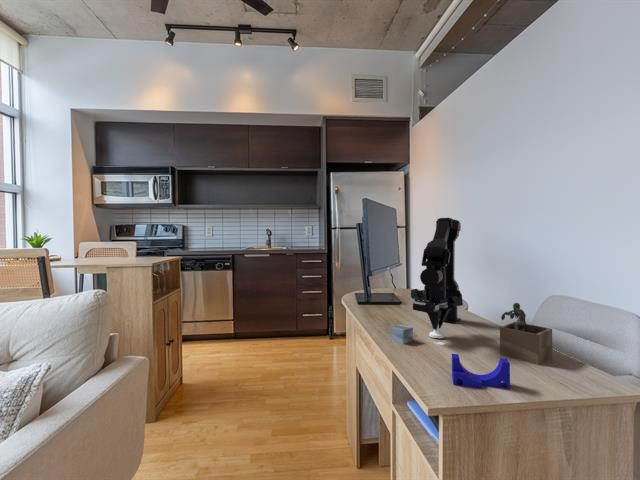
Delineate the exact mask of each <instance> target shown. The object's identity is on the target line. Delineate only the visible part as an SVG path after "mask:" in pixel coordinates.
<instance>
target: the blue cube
mask: <svg viewBox="0 0 640 480" xmlns="http://www.w3.org/2000/svg"><path fill="white" fill-rule="evenodd" d="M413 328H414V327H412V326H408V325H404V324H401V323H400V324H396V325H393V326H392V325H391V326H390V341H392V340H393V341H392V342H394V343H398V344H401V345H405V344H408V343H411V342H413V341H414V335H413V334H414V329H413Z"/></svg>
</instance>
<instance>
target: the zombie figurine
mask: <svg viewBox="0 0 640 480" xmlns="http://www.w3.org/2000/svg"><path fill="white" fill-rule="evenodd" d="M506 316H508V317H510V319H511V320H513V319H514V317H515V319H517V320H516V321H515V322H516V323H515V330H519V326H521V328H522V331H524V332H525V326H526V325H527V324H528V323H527V322H526V317H527V315H526V313H525V311H524V310H523V309H521V305H520V303H518V302H514V303H513V305H512V310H509V311H505V312H504V313H502V314H501V316H500V317H501V321H504V320H505V319H506Z"/></svg>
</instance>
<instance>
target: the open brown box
mask: <svg viewBox="0 0 640 480" xmlns="http://www.w3.org/2000/svg"><path fill="white" fill-rule="evenodd" d="M515 323H516V321H514V322H511V323H509V324H505V325H502V326H500V327H499V354H500V355H501V356H506V357H508V358H512V359H515V360H519V361H523V362H526V363H529V364H532V365H533V364H534V365H537V366H538V365H541V364H542V363H544V362H545V361H547V360H549V359H551V358H553V328H550V327H544V326H539V325H534V324H528V323H526V324H527V325H526V326H525V332H524V331H522V328H521V326H519V330H515Z"/></svg>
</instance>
